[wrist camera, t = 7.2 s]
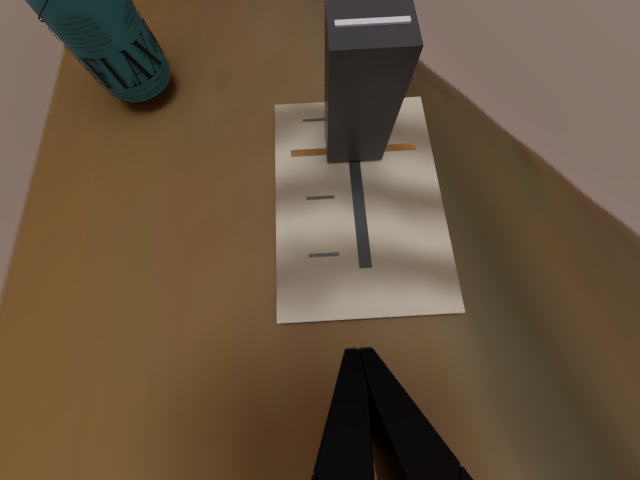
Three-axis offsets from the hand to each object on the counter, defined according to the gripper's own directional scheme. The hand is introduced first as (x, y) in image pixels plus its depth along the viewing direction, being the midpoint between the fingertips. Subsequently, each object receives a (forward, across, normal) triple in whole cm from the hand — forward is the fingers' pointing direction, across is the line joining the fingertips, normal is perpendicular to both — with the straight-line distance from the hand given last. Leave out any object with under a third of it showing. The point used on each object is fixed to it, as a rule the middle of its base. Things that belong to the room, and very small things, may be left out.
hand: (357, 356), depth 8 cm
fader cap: (+19, -3, -4) cm, 20 cm away
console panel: (+17, -2, +1) cm, 17 cm away
